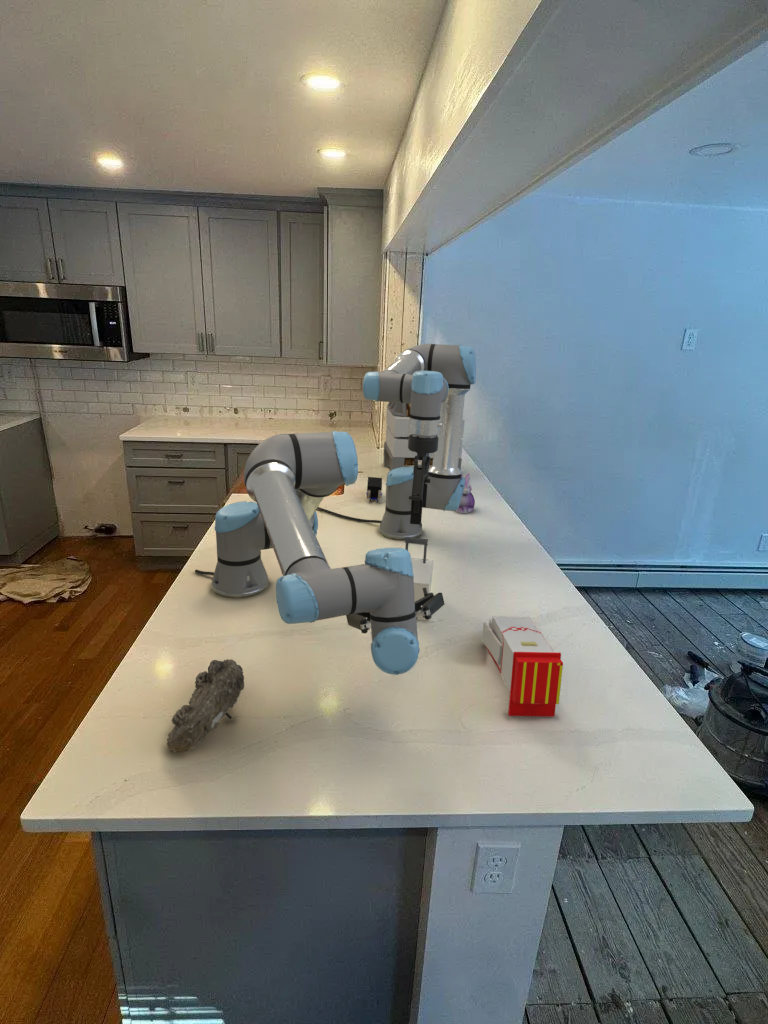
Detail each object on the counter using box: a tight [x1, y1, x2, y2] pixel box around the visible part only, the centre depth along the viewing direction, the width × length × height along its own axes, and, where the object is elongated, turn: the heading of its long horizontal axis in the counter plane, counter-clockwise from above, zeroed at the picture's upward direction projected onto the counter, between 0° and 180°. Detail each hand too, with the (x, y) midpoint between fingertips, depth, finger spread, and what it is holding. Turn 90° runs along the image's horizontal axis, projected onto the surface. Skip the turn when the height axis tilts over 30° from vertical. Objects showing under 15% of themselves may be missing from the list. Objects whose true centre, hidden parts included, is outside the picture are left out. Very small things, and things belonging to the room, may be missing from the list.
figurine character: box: [365, 476, 383, 503], centre depth 234 cm, size 7×8×15 cm
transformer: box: [383, 402, 465, 472], centre depth 268 cm, size 34×33×41 cm
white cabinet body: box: [414, 565, 434, 621], centre depth 151 cm, size 14×10×10 cm
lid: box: [404, 537, 434, 587], centre depth 148 cm, size 15×10×8 cm, turn 171°
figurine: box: [455, 472, 476, 514], centre depth 224 cm, size 9×10×15 cm
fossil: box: [166, 658, 245, 754], centre depth 106 cm, size 22×10×15 cm
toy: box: [481, 615, 564, 718], centre depth 123 cm, size 12×13×30 cm
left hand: (395, 600), depth 124 cm, fingers open, 13 cm apart
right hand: (418, 514), depth 149 cm, fingers open, 13 cm apart
